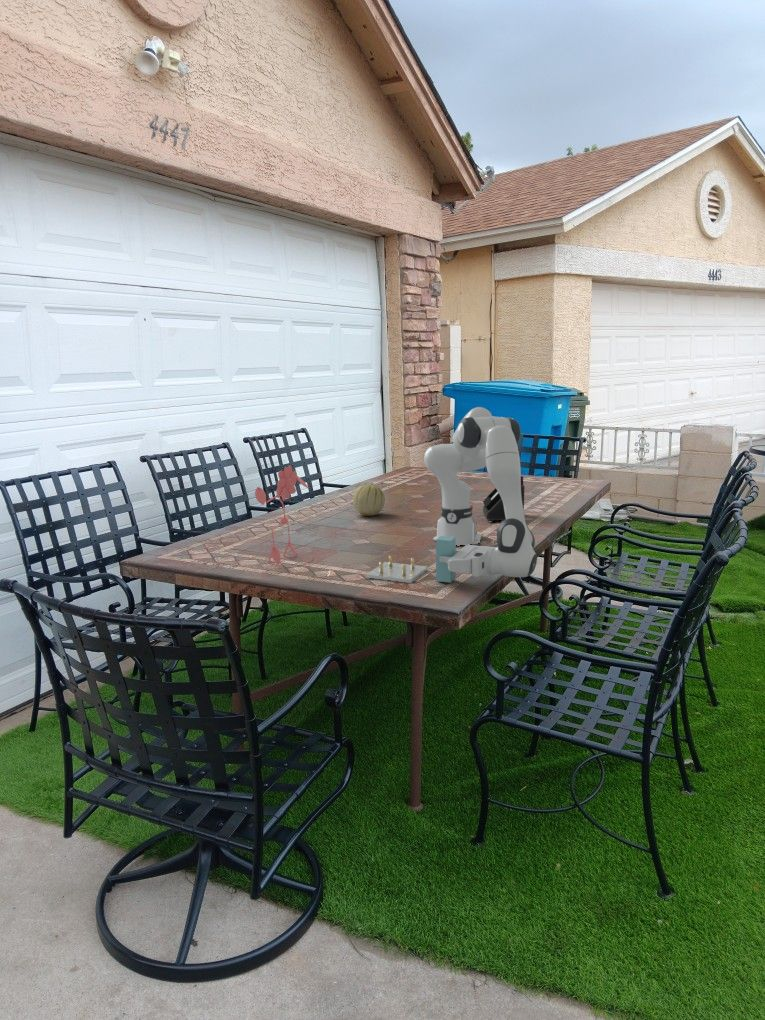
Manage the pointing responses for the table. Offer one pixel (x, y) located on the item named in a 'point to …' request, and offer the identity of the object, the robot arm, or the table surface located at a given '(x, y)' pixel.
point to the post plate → (397, 571)
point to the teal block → (448, 549)
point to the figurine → (285, 489)
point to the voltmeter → (497, 505)
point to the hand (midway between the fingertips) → (443, 555)
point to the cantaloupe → (368, 499)
